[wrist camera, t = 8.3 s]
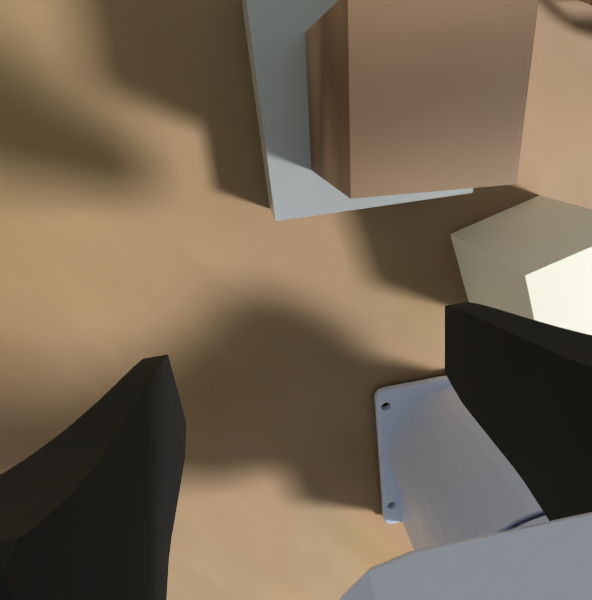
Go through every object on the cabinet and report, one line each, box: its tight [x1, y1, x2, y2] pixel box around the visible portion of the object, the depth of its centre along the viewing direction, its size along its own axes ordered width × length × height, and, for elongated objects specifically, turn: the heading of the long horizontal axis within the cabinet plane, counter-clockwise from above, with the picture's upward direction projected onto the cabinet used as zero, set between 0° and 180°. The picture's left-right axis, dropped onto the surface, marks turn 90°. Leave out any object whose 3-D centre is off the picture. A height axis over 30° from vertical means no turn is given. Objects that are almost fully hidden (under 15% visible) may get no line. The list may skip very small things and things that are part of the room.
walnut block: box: [305, 0, 538, 199], centre depth 14 cm, size 4×4×6 cm
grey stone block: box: [242, 0, 473, 221], centre depth 18 cm, size 8×8×3 cm
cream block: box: [450, 195, 592, 335], centre depth 20 cm, size 4×4×6 cm
